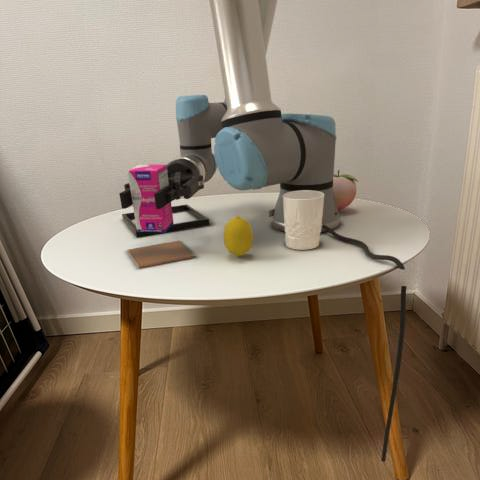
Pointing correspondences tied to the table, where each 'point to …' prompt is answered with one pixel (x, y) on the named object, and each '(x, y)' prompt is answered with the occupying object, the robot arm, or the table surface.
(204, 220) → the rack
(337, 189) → the decorative fruit
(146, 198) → the supplement box
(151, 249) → the mat
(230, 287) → the table surface
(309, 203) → the white cup
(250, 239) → the lemon
